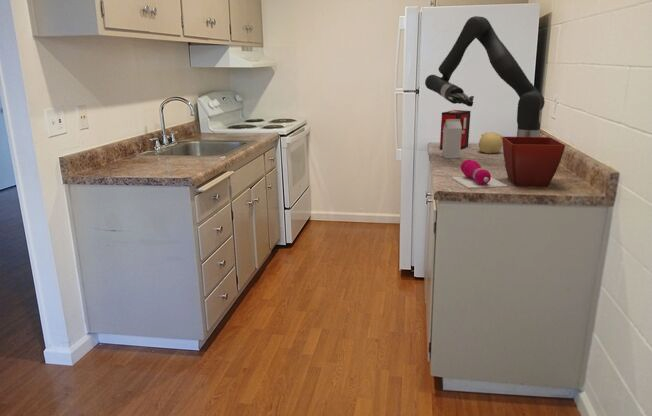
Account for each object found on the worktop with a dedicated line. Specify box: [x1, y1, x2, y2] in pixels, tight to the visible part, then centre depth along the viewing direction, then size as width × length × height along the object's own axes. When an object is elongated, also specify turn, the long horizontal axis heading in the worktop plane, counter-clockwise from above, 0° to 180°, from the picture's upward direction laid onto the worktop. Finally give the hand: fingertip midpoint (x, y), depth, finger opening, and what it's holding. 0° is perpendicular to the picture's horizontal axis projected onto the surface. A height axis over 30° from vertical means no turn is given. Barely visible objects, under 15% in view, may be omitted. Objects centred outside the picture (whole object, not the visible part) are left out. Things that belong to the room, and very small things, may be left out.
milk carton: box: [441, 119, 462, 159], centre depth 250 cm, size 7×7×19 cm
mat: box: [450, 175, 509, 189], centre depth 201 cm, size 18×16×1 cm
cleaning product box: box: [439, 109, 472, 151], centre depth 274 cm, size 16×9×20 cm, turn 141°
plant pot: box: [502, 136, 566, 187], centre depth 198 cm, size 19×19×17 cm
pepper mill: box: [460, 159, 492, 185], centre depth 201 cm, size 7×7×20 cm
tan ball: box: [478, 131, 504, 154], centre depth 262 cm, size 12×12×11 cm
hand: (471, 104), depth 217 cm, fingers closed
